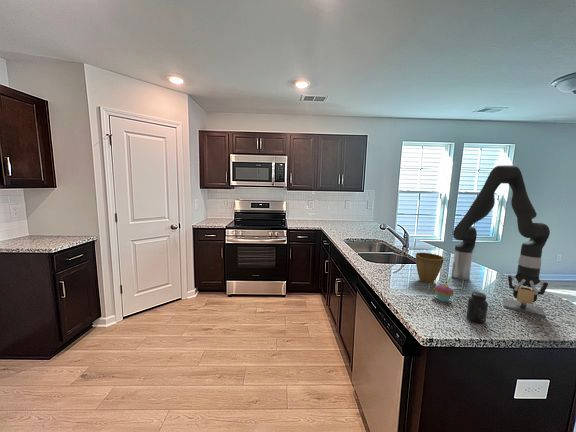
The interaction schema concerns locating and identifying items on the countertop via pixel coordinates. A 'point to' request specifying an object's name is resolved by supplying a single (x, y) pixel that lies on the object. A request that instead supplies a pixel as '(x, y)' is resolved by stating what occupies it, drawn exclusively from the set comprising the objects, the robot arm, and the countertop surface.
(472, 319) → the supplement bottle
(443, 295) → the cupcake
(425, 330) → the countertop surface
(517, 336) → the countertop surface
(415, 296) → the countertop surface
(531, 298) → the tan cube
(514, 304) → the post fixture
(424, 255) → the plant pot
